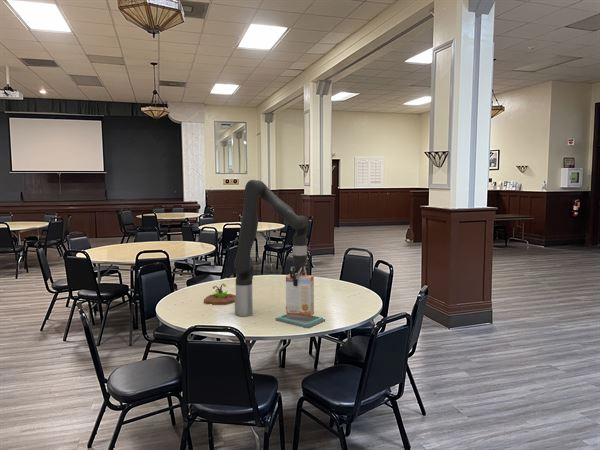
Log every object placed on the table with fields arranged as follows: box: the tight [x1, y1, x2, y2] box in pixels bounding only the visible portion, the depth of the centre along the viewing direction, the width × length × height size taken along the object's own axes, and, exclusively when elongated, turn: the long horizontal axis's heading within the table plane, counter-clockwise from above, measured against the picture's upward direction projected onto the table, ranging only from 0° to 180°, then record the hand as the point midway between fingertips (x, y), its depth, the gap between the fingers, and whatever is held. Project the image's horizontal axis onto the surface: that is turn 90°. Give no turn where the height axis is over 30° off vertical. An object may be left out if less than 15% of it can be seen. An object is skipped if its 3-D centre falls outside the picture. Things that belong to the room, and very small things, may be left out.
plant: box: [203, 283, 236, 306], centre depth 271 cm, size 20×20×11 cm
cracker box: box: [285, 273, 315, 316], centre depth 230 cm, size 14×6×21 cm, turn 68°
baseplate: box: [275, 313, 326, 329], centre depth 231 cm, size 22×15×2 cm
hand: (299, 284), depth 230 cm, fingers closed on cracker box, 7 cm apart
